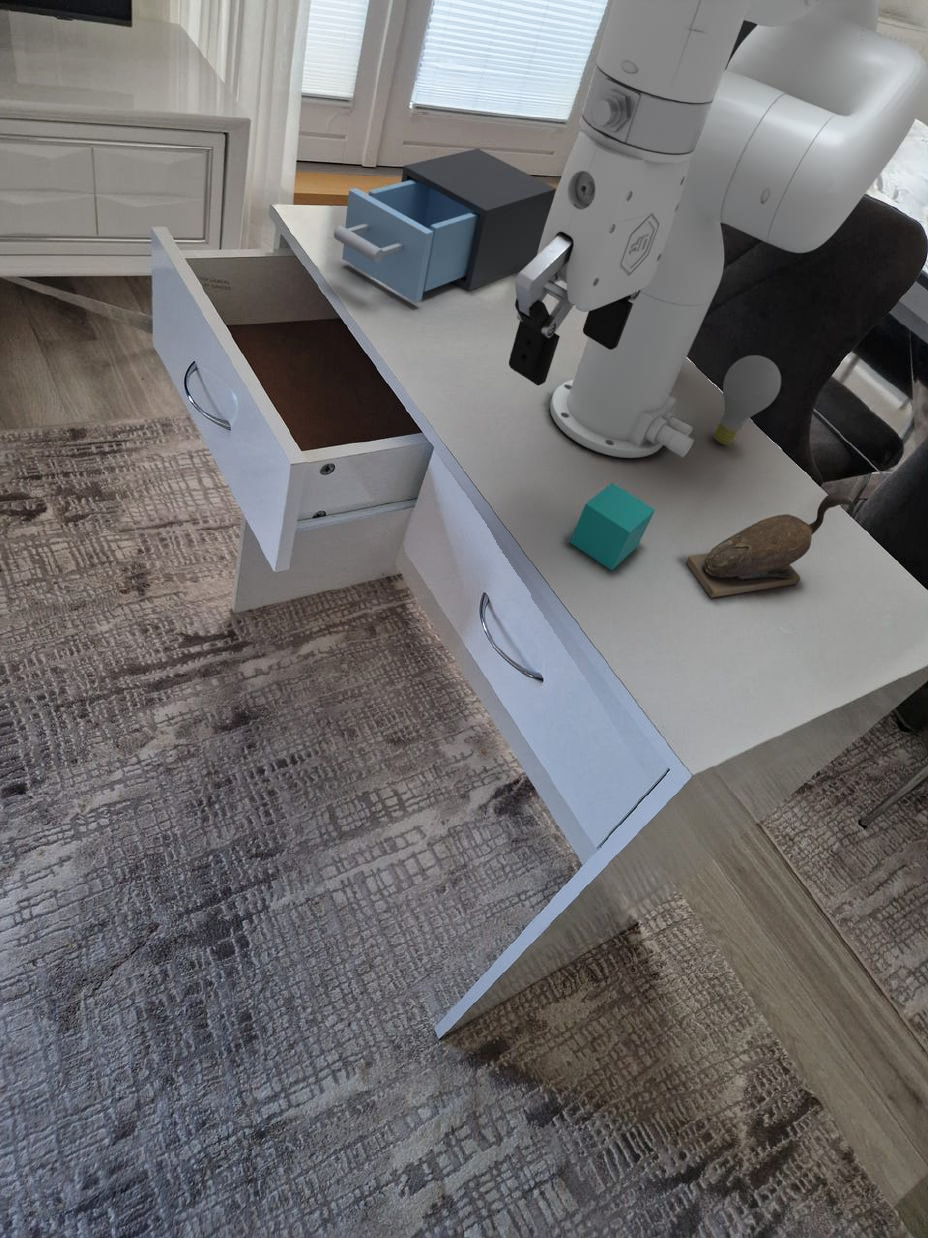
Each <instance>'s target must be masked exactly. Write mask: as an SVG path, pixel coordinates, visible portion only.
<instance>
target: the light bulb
mask: <svg viewBox="0 0 928 1238" xmlns="http://www.w3.org/2000/svg"><path fill="white" fill-rule="evenodd" d="M781 385H782V376H781V371H780V369H779V368H778V366H777V365H776V363H775V362H773V361H772V360H771V359H769V358H767V357H766V356H762V355H759V354H758V355H757V354H756V355H753V354H752V355H747V356H744V357H742V358H739V359H738V360H737V361H736V362H734V363H733V364H732V365H731V366H730V367H729V368H728V370H727V371H726V374H725V376H724V379H723V384H722V394H723V403H724V412H723V414H722V416H721V417H720V420H719V423H718V424H717V425H718V426H717V427H716V429H715V430H714V433H713V438H714V439H715V440H716V441H717V442H718V444H721V445H729V444H732V442H733V441H734V439H735V437H736V436H737V433H738V432H739V431H740V430H741V429H742V427H743V425H744V423H745V422H746V421H747V420H748V419H750V418H751V417H753V416H755V415H757V414H758V413H760V412H762V411H763V410H765V409H766V408H768V407H769V406H771V404H773V402H774V401H775V400H776V399H777V396H778V395H779V393H780V390H781Z"/></svg>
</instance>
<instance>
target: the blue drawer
mask: <svg viewBox="0 0 928 1238" xmlns="http://www.w3.org/2000/svg"><path fill="white" fill-rule="evenodd" d="M479 217H480V214H478V213H476V212H474V211H472V210H471V209H469V208H467V207H465V206H463V205H461V204H459V203H458V202H456V201H454V200H452V199H450V198H448V197H447V196H445V195H443V194H441V193H439V192H437V191H436V190H434V189H432V188H430V187H428V186H426V185H425V184H423V183H421V182H419V181H417V180H415V179H413V180H409V181H405V182H401V181H400V182H398V183H394V184H390V185H385V186H382V187H378V188H374V189H370V190H368V193H366V192H364V191H362V190H360V189H359V188H357V187H356V188H351V189H349V190H348V197H347V206H346V217H345V226H343V225H337V226H336V227H335V229H334V231H333V238H334V239H335V240H336V241H338V242H340V243H341V244H343V249H342V258H341V259H342V260H344V261H346V262H347V263H348V264H351V265H352V266H354V267H355V268H357V269H359V270H361V271H362V272H363V273H364V274H367V275H368V276H370V277H372V278H374V279H375V280H377V281H378V282H379V283H382V284H384V285H385V286H387V287H389V288H390V289H392V290H393V291H395V292H396V293H398V294H400V295H402V296H403V297H405V298H406V299H408V300H410V301H412V302H413V303H417V302H420V301H422V299H423V294H424V292H428V291H430V290H432V289H433V290H434V289H435V288H438V287H441V286H443V285H447V284H448V283H451V282H452V281H454V280H456V279H459V278H461V277H464V276H467V273H468V268H469V264H470V259H471V254H472V250H473V245H474V240H475V236H476V231H477V226H478V221H479Z"/></svg>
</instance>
